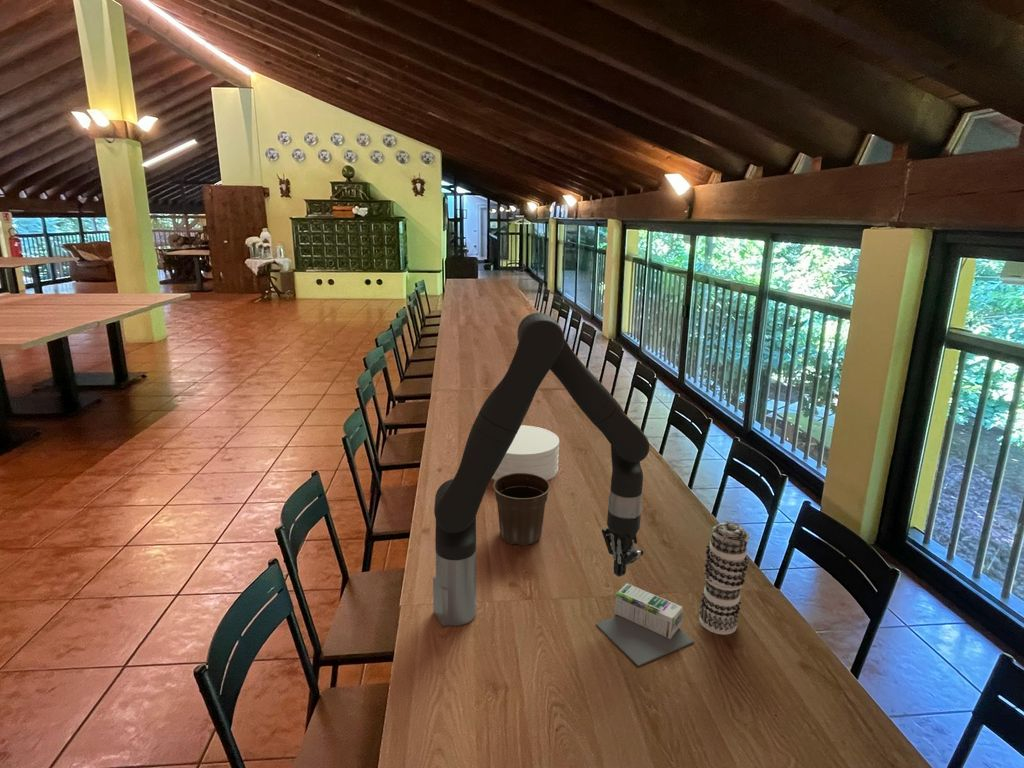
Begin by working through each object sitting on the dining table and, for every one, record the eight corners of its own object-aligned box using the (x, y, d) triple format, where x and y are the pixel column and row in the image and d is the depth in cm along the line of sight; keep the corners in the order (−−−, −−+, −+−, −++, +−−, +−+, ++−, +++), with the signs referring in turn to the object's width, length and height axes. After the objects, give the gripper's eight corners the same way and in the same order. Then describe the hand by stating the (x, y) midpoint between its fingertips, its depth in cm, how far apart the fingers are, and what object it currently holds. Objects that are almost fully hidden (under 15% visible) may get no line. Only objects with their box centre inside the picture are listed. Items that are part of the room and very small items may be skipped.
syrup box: (626, 582, 148) (683, 605, 140) (625, 603, 150) (681, 627, 141) (614, 593, 144) (673, 618, 136) (613, 614, 146) (671, 640, 137)
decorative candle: (689, 615, 146) (700, 521, 139) (719, 606, 150) (732, 514, 143) (715, 640, 138) (728, 541, 131) (747, 629, 142) (762, 533, 135)
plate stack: (473, 481, 214) (473, 450, 211) (489, 450, 240) (490, 422, 237) (553, 488, 210) (555, 457, 206) (561, 456, 236) (562, 428, 233)
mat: (638, 666, 130) (638, 665, 130) (595, 624, 142) (595, 623, 142) (693, 642, 137) (694, 641, 137) (649, 604, 150) (649, 603, 150)
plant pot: (517, 556, 169) (519, 504, 164) (481, 533, 180) (481, 483, 176) (559, 537, 179) (562, 486, 175) (522, 515, 191) (523, 468, 186)
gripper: (594, 500, 144) (589, 564, 149) (630, 525, 133) (624, 594, 138) (619, 493, 148) (614, 556, 153) (656, 517, 137) (650, 585, 142)
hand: (619, 574), depth 146 cm, fingers closed
